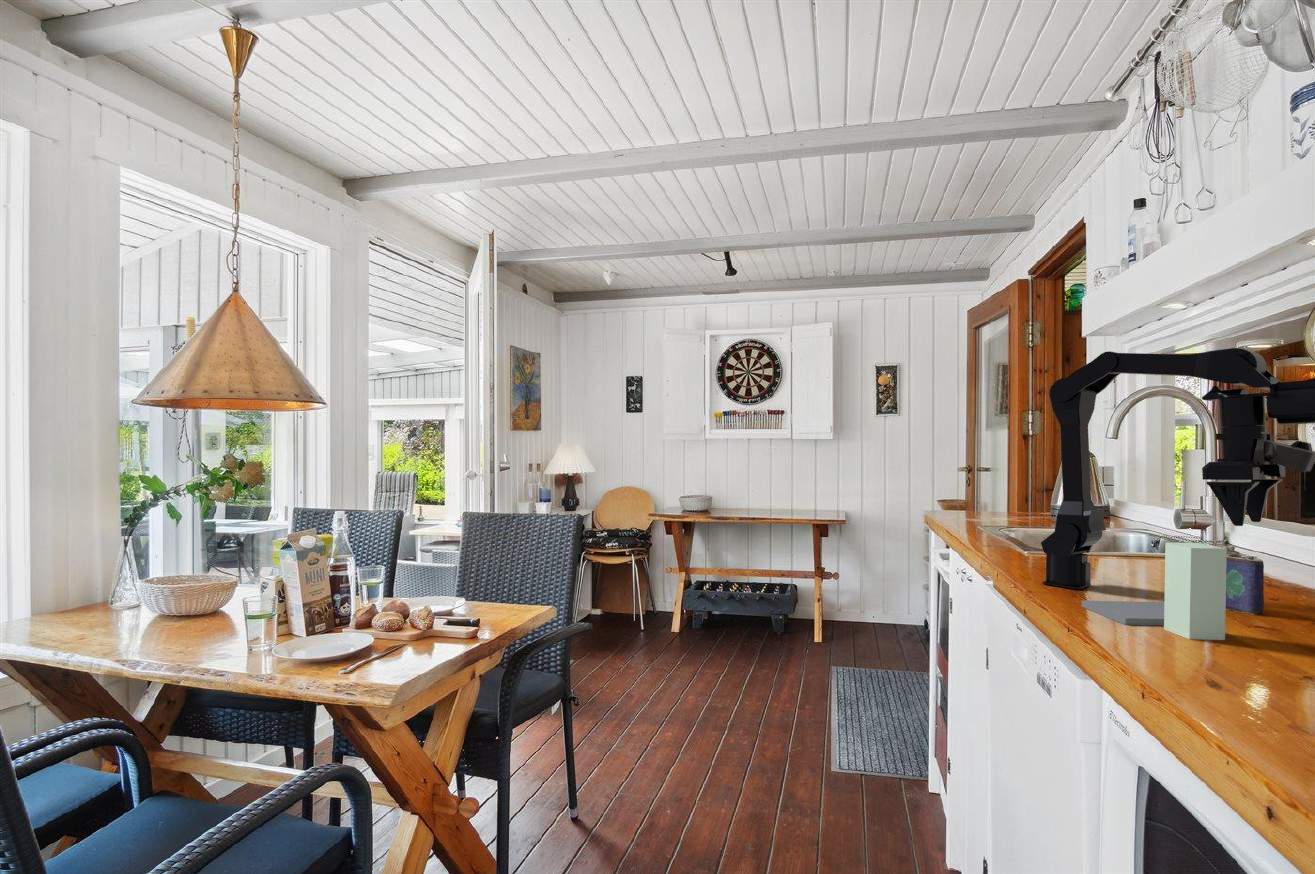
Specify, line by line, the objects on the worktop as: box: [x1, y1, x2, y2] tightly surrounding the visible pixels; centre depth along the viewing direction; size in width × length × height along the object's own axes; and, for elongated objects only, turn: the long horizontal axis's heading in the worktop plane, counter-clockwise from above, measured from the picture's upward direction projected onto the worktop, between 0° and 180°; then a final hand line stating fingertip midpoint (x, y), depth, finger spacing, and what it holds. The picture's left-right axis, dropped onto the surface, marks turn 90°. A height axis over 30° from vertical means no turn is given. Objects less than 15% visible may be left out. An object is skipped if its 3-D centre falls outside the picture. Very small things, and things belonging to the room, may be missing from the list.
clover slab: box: [1222, 544, 1265, 617], centre depth 115 cm, size 9×3×11 cm, turn 28°
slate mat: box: [1081, 600, 1164, 626], centre depth 110 cm, size 11×14×1 cm
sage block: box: [1163, 541, 1227, 641], centre depth 100 cm, size 5×5×13 cm
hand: (1247, 523), depth 110 cm, fingers open, 9 cm apart
